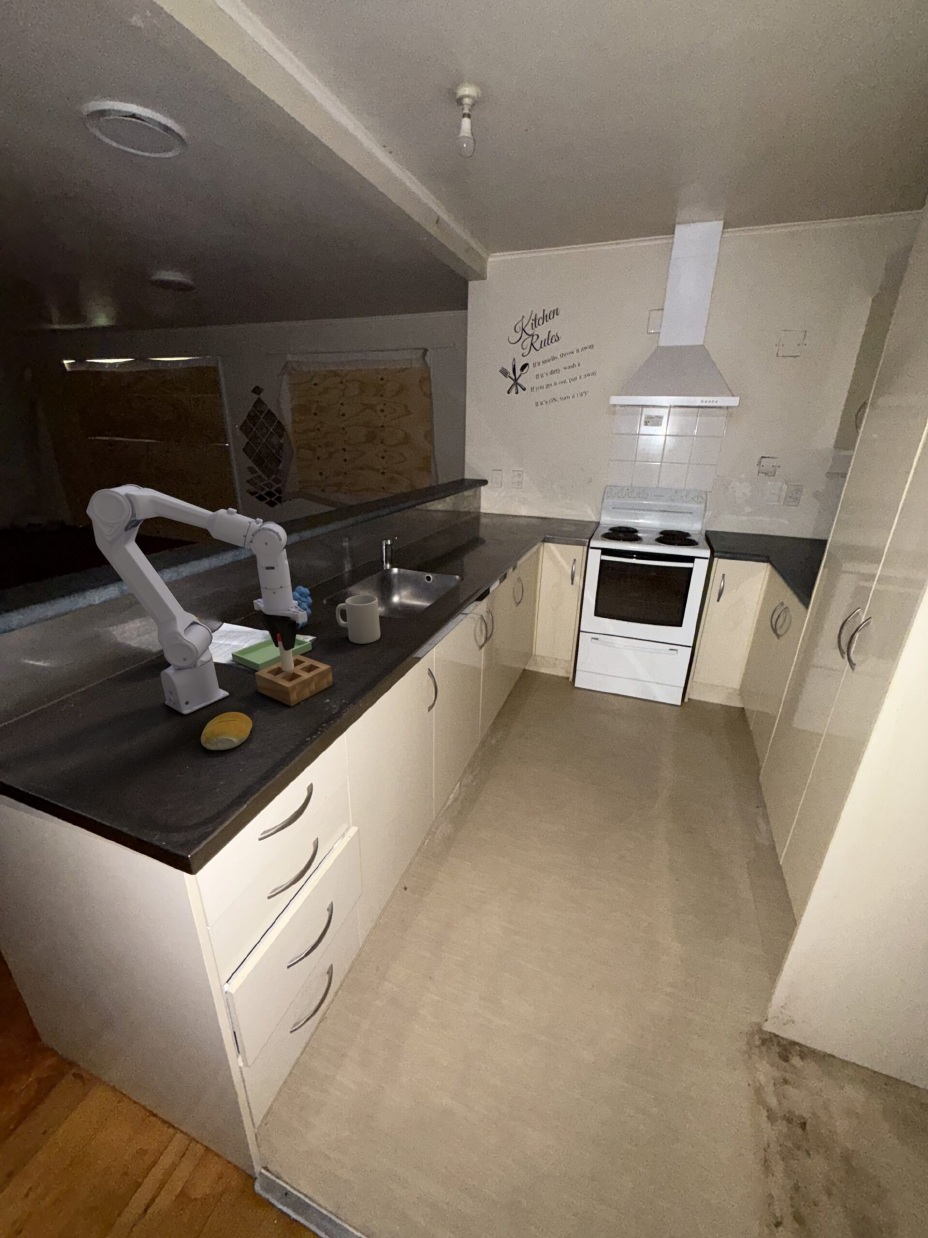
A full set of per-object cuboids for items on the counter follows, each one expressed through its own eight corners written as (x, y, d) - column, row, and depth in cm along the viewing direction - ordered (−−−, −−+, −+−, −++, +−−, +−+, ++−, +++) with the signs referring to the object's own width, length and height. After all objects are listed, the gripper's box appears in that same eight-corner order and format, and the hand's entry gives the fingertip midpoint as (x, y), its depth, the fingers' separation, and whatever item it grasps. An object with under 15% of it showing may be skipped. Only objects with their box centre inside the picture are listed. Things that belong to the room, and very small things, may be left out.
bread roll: (255, 721, 94) (252, 703, 93) (247, 748, 86) (243, 729, 85) (209, 726, 92) (205, 708, 91) (196, 754, 84) (191, 735, 83)
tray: (260, 671, 114) (259, 664, 113) (232, 660, 119) (231, 652, 119) (312, 649, 125) (311, 642, 125) (284, 639, 131) (283, 633, 131)
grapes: (299, 618, 146) (293, 580, 142) (319, 620, 145) (315, 581, 140) (277, 633, 135) (271, 592, 131) (299, 635, 134) (293, 594, 130)
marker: (287, 672, 102) (281, 637, 99) (279, 669, 103) (274, 634, 100) (296, 668, 104) (291, 633, 101) (289, 665, 105) (284, 631, 102)
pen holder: (291, 706, 99) (288, 687, 98) (257, 691, 105) (254, 673, 103) (333, 684, 108) (331, 666, 106) (300, 671, 114) (297, 654, 112)
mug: (385, 632, 136) (382, 595, 132) (373, 645, 128) (370, 605, 124) (345, 629, 138) (341, 593, 134) (331, 641, 130) (327, 602, 126)
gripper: (316, 586, 96) (323, 648, 101) (270, 575, 103) (279, 633, 108) (286, 595, 90) (295, 661, 95) (240, 583, 98) (251, 644, 103)
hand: (285, 647), depth 101 cm, fingers closed on marker, 2 cm apart
